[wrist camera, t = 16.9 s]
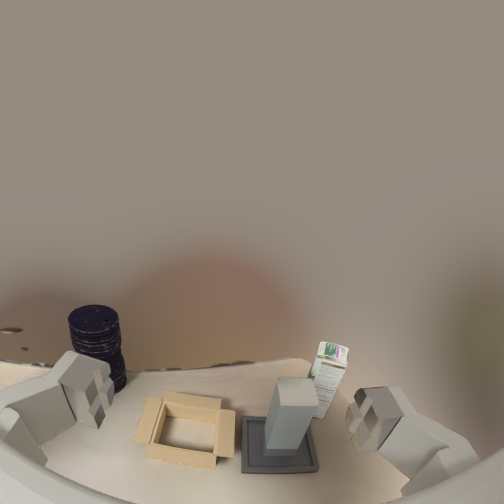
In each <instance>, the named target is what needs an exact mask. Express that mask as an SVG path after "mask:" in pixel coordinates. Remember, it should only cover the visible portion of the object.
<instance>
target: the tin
mask: <svg viewBox="0 0 504 504" xmlns="http://www.w3.org/2000/svg"><path fill="white" fill-rule="evenodd" d="M318 405H319V400H318V397H317V393H316V390H315V387H314V383H313V380H312V379H304V378H277V384H276V387H275V391H274V395H273V398H272V402H271V406H270V409H269V413H268V416H267V420H266V423H265V426H264V428H263V432H262V441H263V456H295V454H296V452H297V450H298V447H299V445H300V443H301V441H302V439H303V437H304V435H305V433H306V431H307V428H308V426H309V424H310V422H311V420H312V417H313V415H314V413H315V410H316V408H317V406H318Z"/></svg>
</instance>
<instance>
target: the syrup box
mask: <svg viewBox="0 0 504 504" xmlns="http://www.w3.org/2000/svg"><path fill="white" fill-rule="evenodd" d="M348 357H349V349H348V348H346V347H343V346H340V345H337V344H333V343H328V342H320V344H319V348H318V351H317V353H316V356H315V359H314V362H313V364H312V367H311V370H310V372H309V375H308V378H307V379H312V380H313V383H314V387H315V390H316V393H317V397H318V400H319V405H318V406H317V408H316V410H315V413H314V415H313V417H316V418H321V419H323V418H324V416H325V414H326V412H327V410H328V408H329V406H330V404H331V402H332V400H333V397H334V395H335V393H336V391H337V389H338V386H339V384H340V382H341V380H342V377H343V375H344V372H345V369H346V367H347V364H348Z"/></svg>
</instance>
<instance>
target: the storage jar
mask: <svg viewBox="0 0 504 504" xmlns="http://www.w3.org/2000/svg"><path fill="white" fill-rule="evenodd" d="M68 323H69V328H70V335H71V339H72V344H73V347H74V349H75V350H76V353H79V354H83V355H86V356H89V357H92V358H95V359H98V360H101V361H104V362H107V363H108V364H109V366H110V370H111V373H110V374H109V377H110V379H111V380H112V381H113V384H114V394H116V393H118V392H120V391H121V390H122V389H123V388H124V387H125V385H126V382H127V378H126V373H125V372H126V369H125V364H124V358H123V356H122V354H121V348H120V346H121V332H120V327H119V318H118V314H117V312H116V311H115V310H114V309H111V308H110V307H107V306H103V305H86V306H82V307H79V308H77V309H75V310H74V311H72V312H71V313H70V315H69V317H68Z"/></svg>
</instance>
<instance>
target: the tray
mask: <svg viewBox="0 0 504 504" xmlns="http://www.w3.org/2000/svg"><path fill="white" fill-rule="evenodd" d="M266 420H267V418H265V417H248V416H242V464H241V473H247V474H296V473H312V472H317V471H318V470H319V466H318V461H317V457H316V452H315V448H314V444H313V439H312V435H311V431H310V426H308V428H307V431H306V433H305V435H304V437H303V439H302V441H301V443H300V445H299V447H298V450H297V452H296V454H295V456H263V441H262V432H263V428H264V426H265V423H266Z"/></svg>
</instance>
